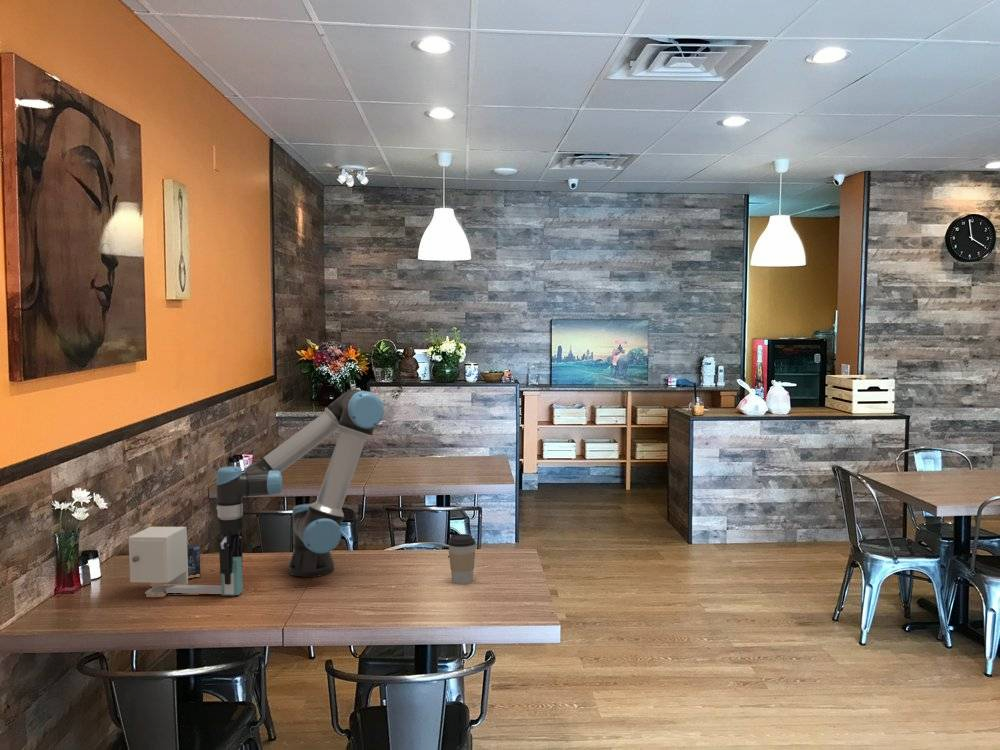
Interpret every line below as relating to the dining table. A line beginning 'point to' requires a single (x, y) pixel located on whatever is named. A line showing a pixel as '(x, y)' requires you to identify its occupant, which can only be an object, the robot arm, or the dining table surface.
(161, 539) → the wall cabinet
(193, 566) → the box
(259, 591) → the dining table surface
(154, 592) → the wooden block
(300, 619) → the dining table surface
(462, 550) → the coffee cup
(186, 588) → the hammer tool
